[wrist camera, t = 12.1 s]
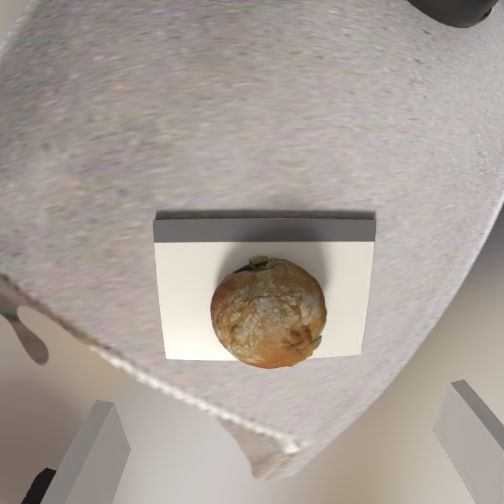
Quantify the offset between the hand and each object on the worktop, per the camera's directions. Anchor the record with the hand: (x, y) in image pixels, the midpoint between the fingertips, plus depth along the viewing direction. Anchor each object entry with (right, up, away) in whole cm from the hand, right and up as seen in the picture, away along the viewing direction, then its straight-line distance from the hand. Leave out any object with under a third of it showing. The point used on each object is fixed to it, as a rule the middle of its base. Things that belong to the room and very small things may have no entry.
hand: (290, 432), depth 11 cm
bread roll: (0, +1, +20) cm, 20 cm away
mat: (0, +3, +20) cm, 20 cm away
